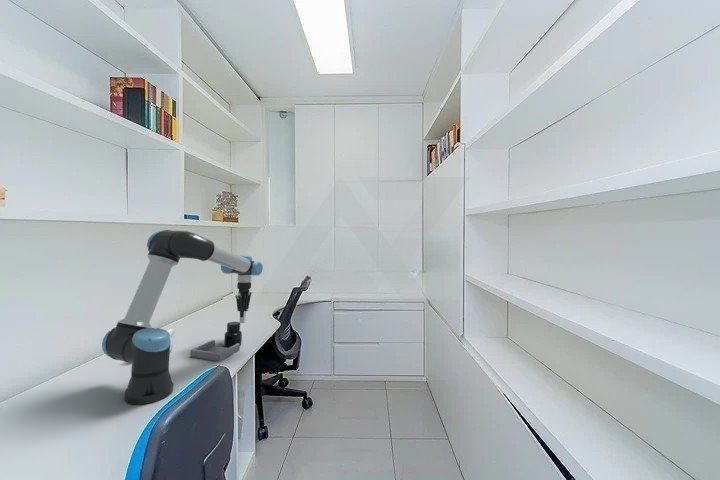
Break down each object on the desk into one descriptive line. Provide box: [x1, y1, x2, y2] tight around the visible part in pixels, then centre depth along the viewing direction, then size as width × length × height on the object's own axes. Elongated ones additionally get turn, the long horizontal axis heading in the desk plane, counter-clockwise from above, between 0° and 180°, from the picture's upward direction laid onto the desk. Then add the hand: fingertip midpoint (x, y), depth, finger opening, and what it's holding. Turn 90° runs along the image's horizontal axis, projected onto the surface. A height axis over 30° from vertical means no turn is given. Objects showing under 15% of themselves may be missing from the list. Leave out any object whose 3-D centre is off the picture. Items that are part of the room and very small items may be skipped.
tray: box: [189, 339, 241, 363], centre depth 157 cm, size 16×16×4 cm
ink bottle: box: [223, 321, 243, 348], centre depth 171 cm, size 10×9×12 cm
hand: (242, 322), depth 179 cm, fingers closed
